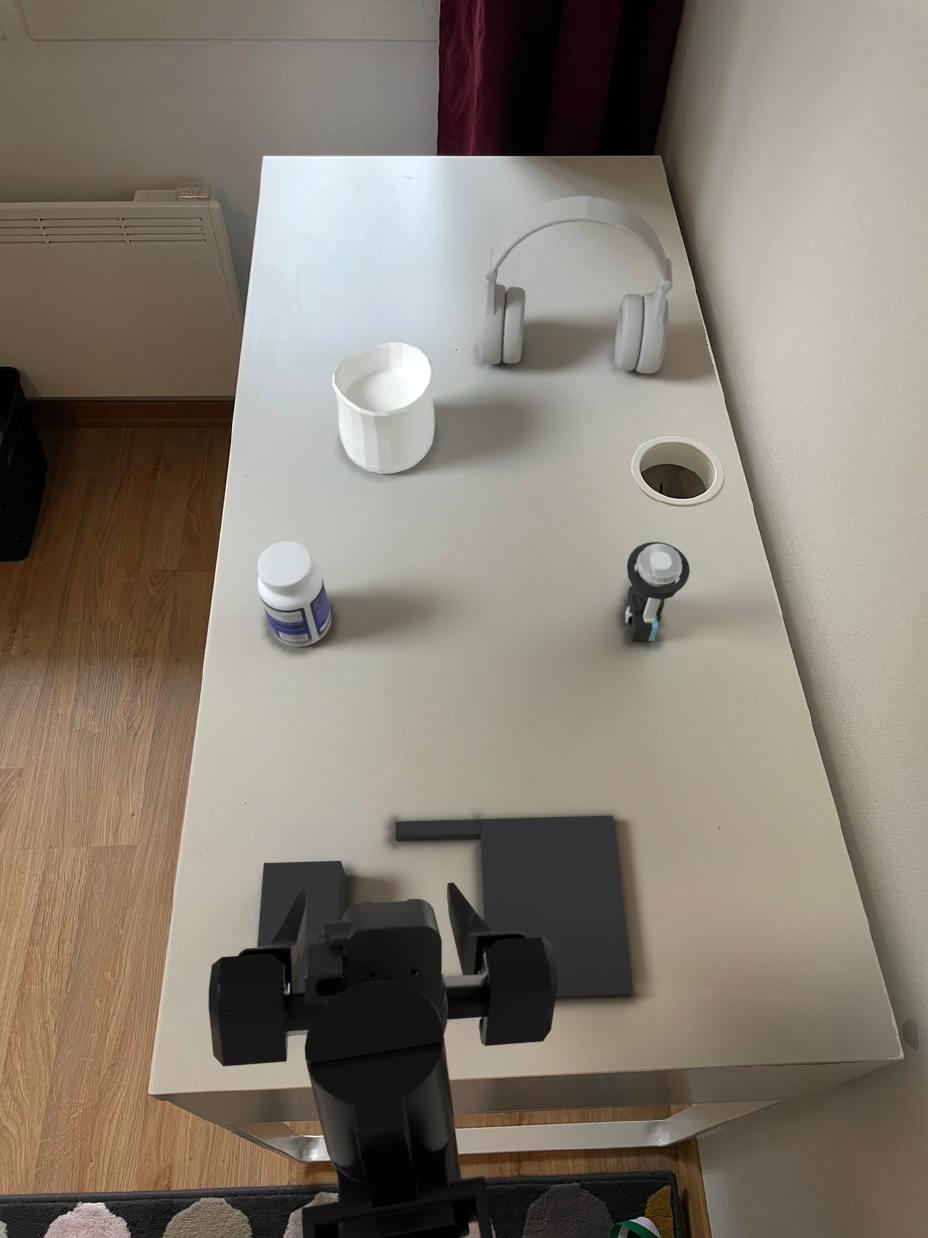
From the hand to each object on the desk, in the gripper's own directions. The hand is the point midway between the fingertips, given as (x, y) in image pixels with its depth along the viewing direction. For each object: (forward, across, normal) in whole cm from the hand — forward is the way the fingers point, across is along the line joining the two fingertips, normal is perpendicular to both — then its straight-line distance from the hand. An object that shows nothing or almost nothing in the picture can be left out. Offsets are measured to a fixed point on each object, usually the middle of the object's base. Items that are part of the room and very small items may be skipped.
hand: (377, 891), depth 60 cm
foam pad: (+10, +5, +14) cm, 18 cm away
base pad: (+10, -10, +12) cm, 19 cm away
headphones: (+61, -24, -19) cm, 69 cm away
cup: (+53, -4, -12) cm, 55 cm away
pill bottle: (+35, +5, 0) cm, 35 cm away
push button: (+32, -26, -2) cm, 41 cm away
